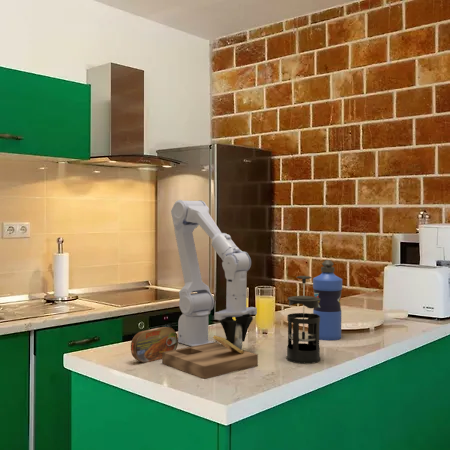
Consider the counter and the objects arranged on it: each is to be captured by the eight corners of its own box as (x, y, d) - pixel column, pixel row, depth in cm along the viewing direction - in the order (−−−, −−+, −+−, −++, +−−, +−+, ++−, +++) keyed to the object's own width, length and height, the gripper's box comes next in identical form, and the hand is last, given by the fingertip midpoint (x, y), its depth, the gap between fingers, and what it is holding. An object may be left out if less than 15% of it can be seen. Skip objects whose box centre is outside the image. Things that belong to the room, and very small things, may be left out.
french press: (309, 366, 150) (310, 279, 150) (278, 360, 156) (279, 276, 155) (329, 357, 160) (330, 275, 159) (299, 351, 165) (300, 272, 165)
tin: (135, 365, 150) (136, 333, 150) (128, 363, 152) (128, 331, 152) (178, 355, 161) (178, 325, 161) (171, 353, 163) (171, 323, 163)
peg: (226, 348, 163) (227, 324, 163) (236, 346, 165) (236, 322, 165) (235, 351, 160) (235, 326, 160) (244, 349, 163) (244, 324, 162)
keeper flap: (212, 338, 149) (214, 334, 149) (232, 351, 154) (234, 348, 154) (222, 340, 146) (224, 337, 146) (242, 354, 151) (244, 351, 151)
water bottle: (338, 334, 190) (338, 259, 189) (344, 340, 180) (345, 261, 180) (310, 334, 189) (310, 258, 189) (315, 340, 180) (316, 261, 179)
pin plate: (162, 363, 152) (162, 352, 152) (214, 352, 164) (214, 342, 164) (204, 378, 139) (204, 366, 138) (257, 365, 150) (257, 354, 150)
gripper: (226, 298, 155) (225, 348, 155) (264, 294, 164) (263, 340, 164) (209, 295, 160) (209, 343, 160) (247, 291, 169) (247, 336, 170)
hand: (235, 342), depth 163 cm, fingers closed on peg, 4 cm apart
